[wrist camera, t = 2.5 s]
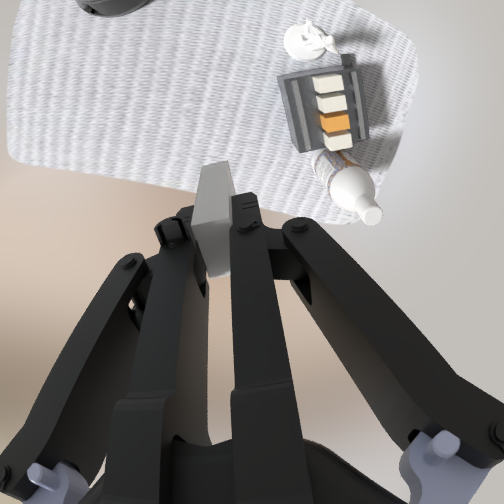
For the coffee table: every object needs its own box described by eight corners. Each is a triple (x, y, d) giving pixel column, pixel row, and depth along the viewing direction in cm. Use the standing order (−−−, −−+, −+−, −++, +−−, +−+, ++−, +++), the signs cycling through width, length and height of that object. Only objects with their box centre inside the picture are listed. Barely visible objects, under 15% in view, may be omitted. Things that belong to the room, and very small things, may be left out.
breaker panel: (276, 76, 44) (283, 80, 38) (345, 65, 43) (361, 68, 37) (292, 142, 51) (300, 154, 46) (356, 129, 50) (371, 140, 44)
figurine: (334, 38, 40) (364, 37, 30) (312, 70, 43) (336, 76, 34) (298, 14, 37) (320, 4, 28) (275, 46, 40) (290, 45, 31)
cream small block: (322, 132, 44) (328, 137, 42) (343, 128, 44) (350, 133, 41) (325, 145, 45) (330, 151, 43) (345, 141, 45) (352, 147, 43)
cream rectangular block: (312, 76, 39) (317, 78, 36) (334, 73, 38) (341, 75, 36) (315, 90, 40) (320, 93, 38) (337, 87, 40) (344, 89, 37)
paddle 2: (316, 95, 40) (321, 98, 38) (337, 92, 40) (345, 95, 38) (318, 109, 42) (324, 113, 39) (340, 105, 41) (347, 109, 39)
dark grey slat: (340, 54, 41) (342, 54, 40) (346, 53, 41) (349, 54, 40) (354, 140, 51) (356, 142, 50) (360, 139, 51) (363, 140, 50)
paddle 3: (319, 114, 42) (325, 118, 40) (341, 110, 42) (348, 114, 40) (322, 127, 44) (327, 132, 41) (343, 123, 43) (350, 128, 41)
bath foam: (353, 157, 53) (405, 210, 37) (330, 184, 56) (371, 246, 40) (327, 135, 50) (374, 182, 34) (303, 164, 53) (338, 223, 38)
